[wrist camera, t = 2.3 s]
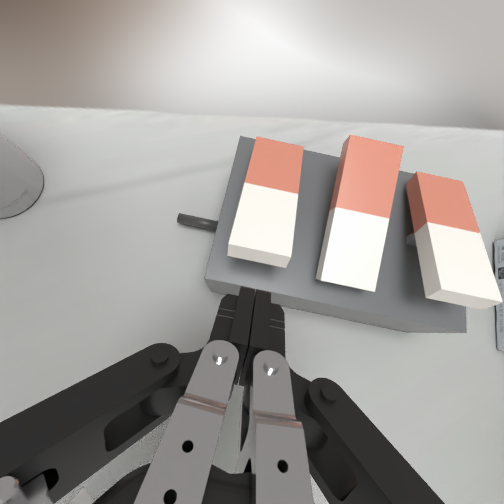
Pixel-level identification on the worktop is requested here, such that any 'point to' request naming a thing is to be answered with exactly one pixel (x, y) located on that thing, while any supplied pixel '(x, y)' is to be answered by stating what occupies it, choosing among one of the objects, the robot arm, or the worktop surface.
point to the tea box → (503, 281)
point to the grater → (82, 498)
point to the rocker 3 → (450, 243)
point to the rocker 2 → (359, 213)
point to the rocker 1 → (268, 204)
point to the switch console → (309, 250)
